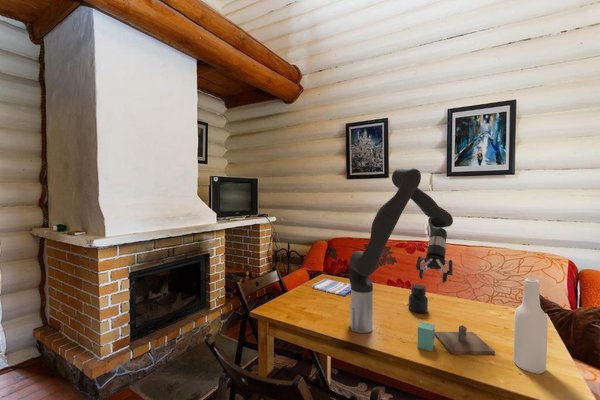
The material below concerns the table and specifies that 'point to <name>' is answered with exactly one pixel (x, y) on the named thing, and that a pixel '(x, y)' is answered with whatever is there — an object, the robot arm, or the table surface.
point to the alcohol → (530, 331)
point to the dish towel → (333, 287)
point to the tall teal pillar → (426, 336)
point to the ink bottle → (418, 299)
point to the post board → (463, 342)
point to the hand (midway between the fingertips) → (432, 280)
